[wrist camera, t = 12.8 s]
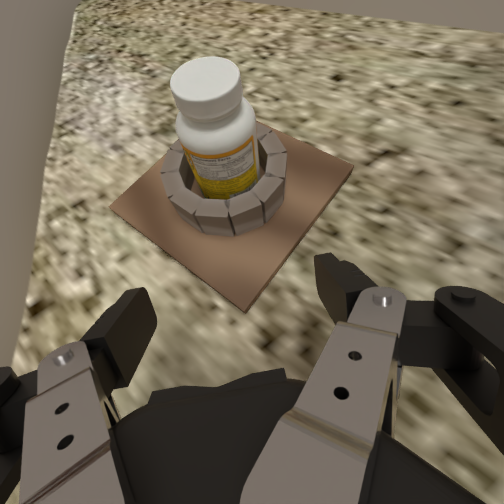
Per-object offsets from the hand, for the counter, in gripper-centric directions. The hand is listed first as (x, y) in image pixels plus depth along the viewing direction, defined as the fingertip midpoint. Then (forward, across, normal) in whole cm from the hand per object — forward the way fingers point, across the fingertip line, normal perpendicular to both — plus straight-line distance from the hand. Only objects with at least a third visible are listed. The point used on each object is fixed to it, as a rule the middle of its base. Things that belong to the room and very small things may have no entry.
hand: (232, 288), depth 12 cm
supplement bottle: (+13, 0, -3) cm, 13 cm away
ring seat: (+14, 0, -3) cm, 14 cm away
